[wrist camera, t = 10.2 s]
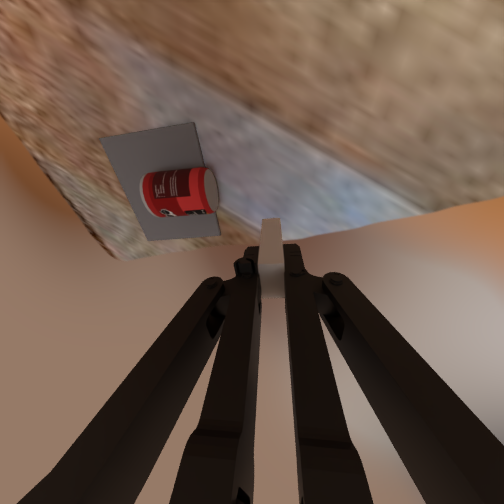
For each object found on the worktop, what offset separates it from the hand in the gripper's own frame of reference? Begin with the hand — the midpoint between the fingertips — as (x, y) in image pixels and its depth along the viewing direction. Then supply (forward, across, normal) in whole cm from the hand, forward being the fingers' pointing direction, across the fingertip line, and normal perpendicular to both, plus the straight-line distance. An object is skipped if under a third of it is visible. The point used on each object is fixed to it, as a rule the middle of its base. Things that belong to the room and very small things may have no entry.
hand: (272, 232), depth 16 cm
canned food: (+17, -10, 0) cm, 20 cm away
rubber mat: (+22, -21, 0) cm, 30 cm away
